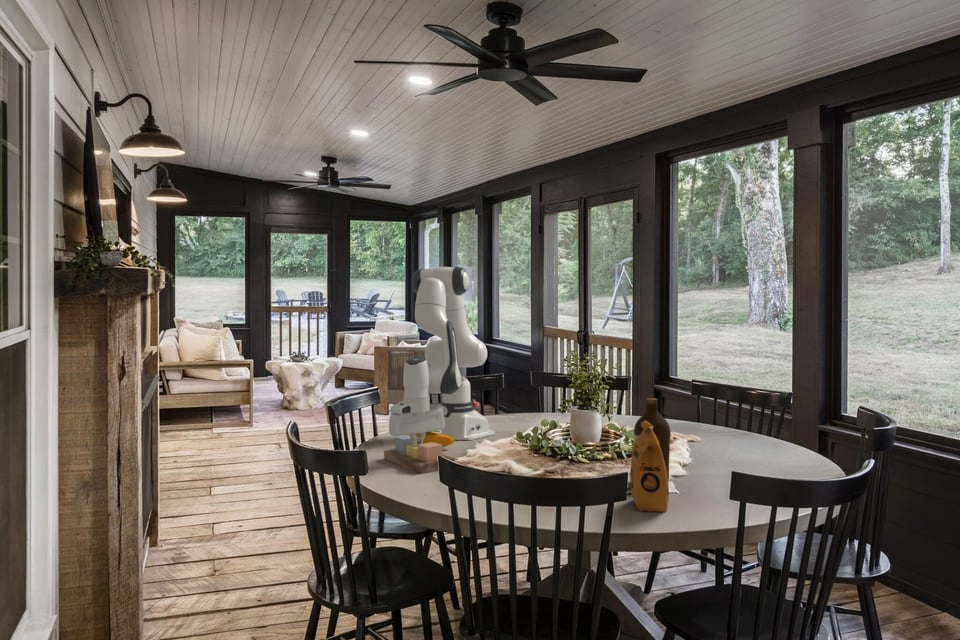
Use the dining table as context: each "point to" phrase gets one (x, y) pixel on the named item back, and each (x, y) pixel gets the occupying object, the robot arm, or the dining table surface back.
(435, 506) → the dining table surface
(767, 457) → the dining table surface
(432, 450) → the pad terracotta
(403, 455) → the button board
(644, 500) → the coffee package
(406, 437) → the pad slate
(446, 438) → the corn
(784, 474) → the dining table surface
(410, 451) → the pad mustard
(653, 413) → the olive oil
